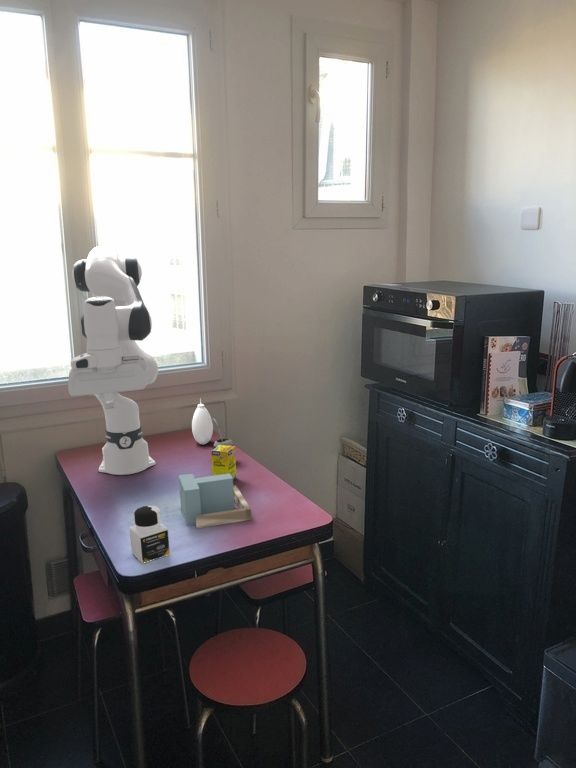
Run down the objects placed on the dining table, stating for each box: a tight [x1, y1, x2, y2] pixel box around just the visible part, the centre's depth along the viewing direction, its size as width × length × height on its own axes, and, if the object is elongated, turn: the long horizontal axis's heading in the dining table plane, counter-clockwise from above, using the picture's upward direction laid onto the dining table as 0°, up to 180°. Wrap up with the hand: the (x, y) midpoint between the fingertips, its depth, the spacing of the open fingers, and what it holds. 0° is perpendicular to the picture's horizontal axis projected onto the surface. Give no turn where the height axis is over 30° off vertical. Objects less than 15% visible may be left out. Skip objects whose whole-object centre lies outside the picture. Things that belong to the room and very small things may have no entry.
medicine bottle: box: [129, 505, 171, 564], centre depth 152 cm, size 7×7×12 cm
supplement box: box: [210, 445, 237, 481], centre depth 198 cm, size 6×6×11 cm
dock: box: [195, 485, 252, 529], centre depth 176 cm, size 18×15×3 cm
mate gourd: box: [212, 417, 235, 450], centre depth 214 cm, size 8×8×15 cm
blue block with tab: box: [178, 472, 236, 526], centre depth 175 cm, size 12×14×10 cm
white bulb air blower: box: [191, 397, 214, 446], centre depth 234 cm, size 8×8×18 cm
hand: (110, 408), depth 170 cm, fingers closed
